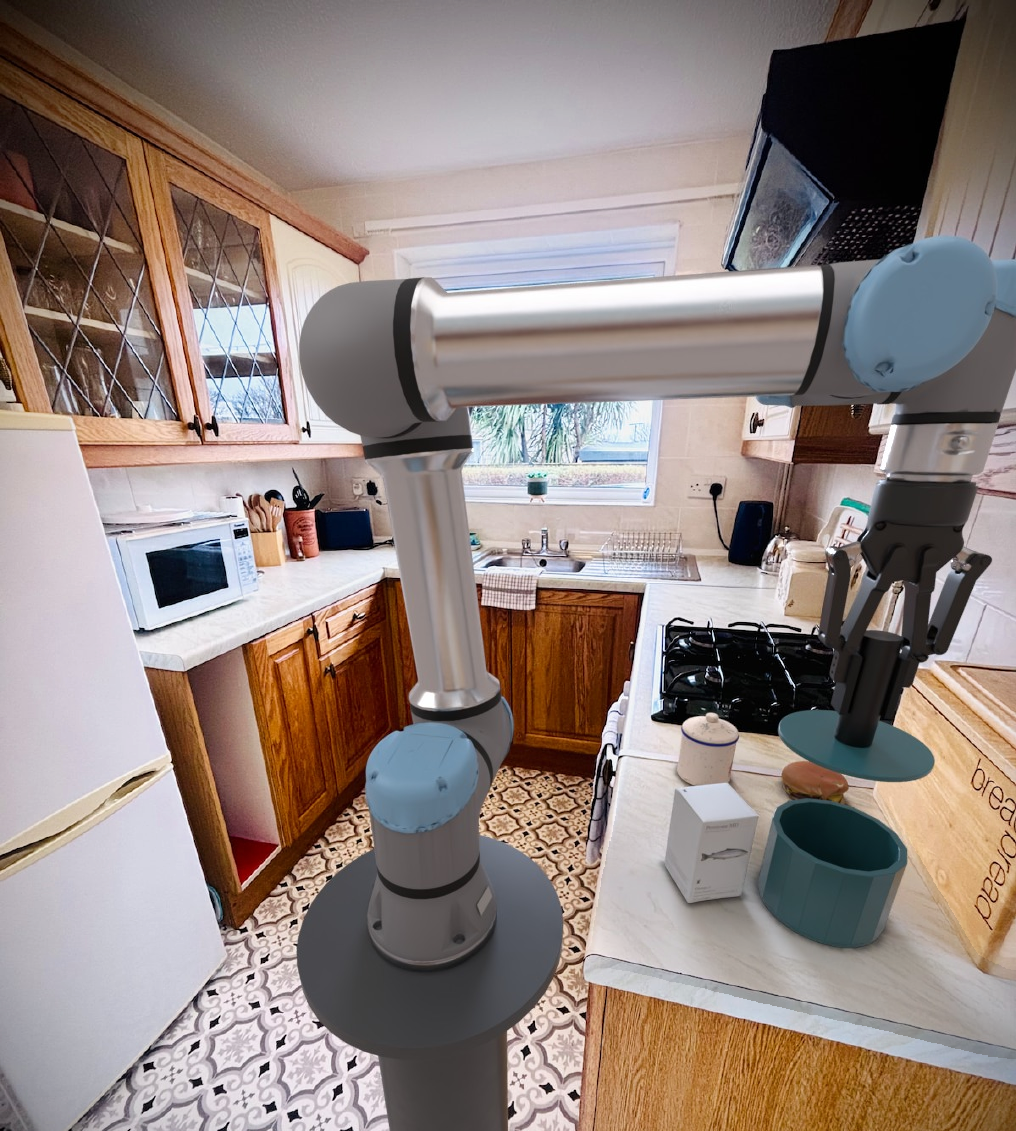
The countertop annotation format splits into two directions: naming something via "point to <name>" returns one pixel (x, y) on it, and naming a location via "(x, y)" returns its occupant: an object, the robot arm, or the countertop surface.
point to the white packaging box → (709, 841)
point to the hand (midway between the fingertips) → (860, 710)
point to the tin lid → (861, 725)
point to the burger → (813, 782)
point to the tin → (831, 872)
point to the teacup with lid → (707, 750)
